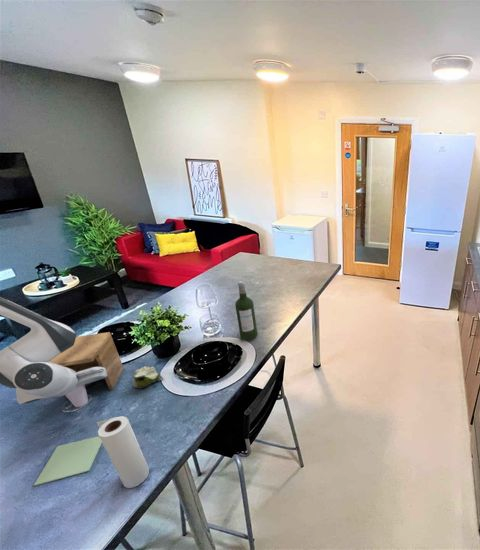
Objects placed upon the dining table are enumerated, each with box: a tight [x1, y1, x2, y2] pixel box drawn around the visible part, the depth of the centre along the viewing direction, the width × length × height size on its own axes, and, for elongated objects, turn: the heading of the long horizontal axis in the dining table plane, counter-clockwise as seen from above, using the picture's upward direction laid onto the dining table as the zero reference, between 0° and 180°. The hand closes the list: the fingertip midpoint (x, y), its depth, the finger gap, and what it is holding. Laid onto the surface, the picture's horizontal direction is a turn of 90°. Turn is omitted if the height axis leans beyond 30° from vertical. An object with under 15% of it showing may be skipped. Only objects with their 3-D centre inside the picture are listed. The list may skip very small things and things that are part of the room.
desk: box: [49, 331, 125, 400], centre depth 107 cm, size 14×16×18 cm
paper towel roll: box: [96, 415, 150, 489], centre depth 78 cm, size 7×6×21 cm
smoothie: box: [65, 384, 89, 408], centre depth 101 cm, size 6×6×14 cm
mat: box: [33, 435, 103, 487], centre depth 86 cm, size 12×12×1 cm
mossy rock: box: [132, 366, 164, 389], centre depth 113 cm, size 9×9×8 cm
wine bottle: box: [234, 280, 258, 341], centre depth 138 cm, size 8×8×30 cm
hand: (73, 385), depth 101 cm, fingers open, 8 cm apart
